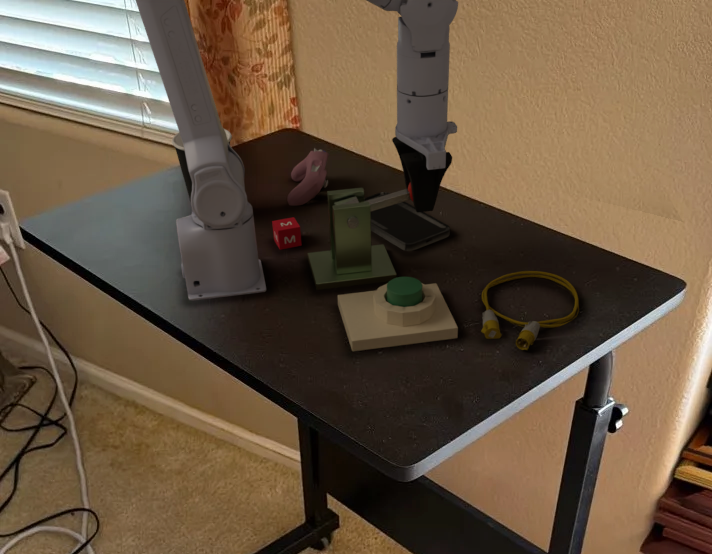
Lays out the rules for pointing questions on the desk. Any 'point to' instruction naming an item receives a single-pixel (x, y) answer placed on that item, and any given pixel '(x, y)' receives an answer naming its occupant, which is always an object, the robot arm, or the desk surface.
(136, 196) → the desk surface
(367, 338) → the switch plate
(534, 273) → the extension cord
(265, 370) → the desk surface
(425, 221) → the phone
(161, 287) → the desk surface
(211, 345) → the desk surface
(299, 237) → the red letter cube
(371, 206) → the switch lever
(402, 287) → the button
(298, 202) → the video game controller
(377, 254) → the switch bracket
